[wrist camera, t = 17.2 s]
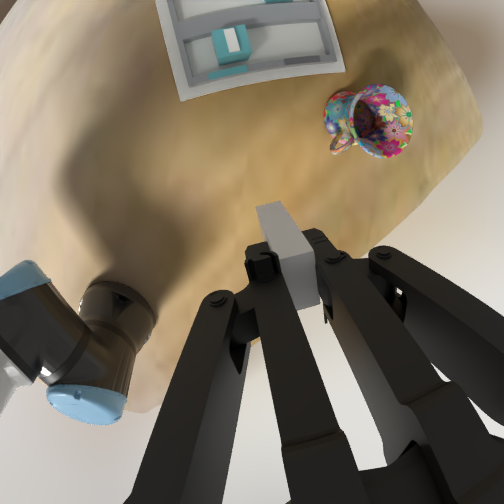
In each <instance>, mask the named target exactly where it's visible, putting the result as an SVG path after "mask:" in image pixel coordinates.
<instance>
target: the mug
mask: <svg viewBox="0 0 504 504" xmlns="http://www.w3.org/2000/svg"><path fill="white" fill-rule="evenodd" d="M324 122H325V125H326V128H327V130H328V132H329V133H330V135H331V136H332V137H333V138H334V139H333V141H332V142H331V145H330V151H331V153H332V154H334V155H338V154H341V153H343V152H345V151H346V150H347V149H349V148H350V147H351V146H352V145H357V144H359V146H360V147H361V148H362V149H363V150H364V151H366V152H367V153H369V154H370V155H372V156H375V157H379V158H389V157H393V156H395V155H397V154H399V153H400V152H402V151H403V150H404V149H405V147H406V146H407V144H408V143H409V141H410V138H411V135H412V130H413V119H412V114H411V110H410V108H409V105H408V103H407V102H406V100H405V99H404V97H403V96H402V95H401V94H400V93H399V92H398V91H396V90H395V89H393V88H391V87H389V86H387V85H383V84H373V85H369V86H366V87H365V88H363V89H362V90H360V91H359V92H358V93H355V92H350V91H344V92H340V93H337V94H335V95H334V96H333V97H331V98H330V100H329V101H328V102H327V104H326V107H325V110H324ZM337 142H340V143H342V144H344V145H343V146H341V147H340V148H338V149H335V146H336V144H337ZM334 149H335V150H334Z"/></svg>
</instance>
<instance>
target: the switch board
mask: <svg viewBox="0 0 504 504" xmlns="http://www.w3.org/2000/svg"><path fill="white" fill-rule="evenodd" d="M155 2H156V6H157V11H158V15H159V19H160V23H161V28H162V32H163V36H164V40H165V44H166V48H167V52H168V56H169V60H170V64H171V68H172V72H173V75H174V79H175V83H176V87H177V91H178V94H179V98H180V102H183V101H186V100H190V99H193V98H196V97H200V96H204V95H207V94H211V93H215V92H219V91H223V90H227V89H231V88H236V87H240V86H245V85H250V84H255V83H260V82H265V81H271V80H277V79H284V78H291V77H298V76H307V75H316V74H327V73H342V72H346V70H345V66H344V62H343V58H342V54H341V51H340V47H339V43H338V40H337V36H336V33H335V29H334V26H333V23H332V20H331V16H330V13H329V10H328V7H327V5H326V2H325V0H293V1H286V2H273V3H265V1H264V0H155ZM238 25H245V28H246V31H247V35H248V38H249V42H250V46H251V49H252V53H251V55H250V57H249V59H248V60H246V61H241V62H236V63H231V64H226V65H222V66H219V65H218V61H217V58H216V54H215V50H214V46H213V43H212V34H211V31H214V30H218V29H223V28H228V27H233V26H238Z"/></svg>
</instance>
